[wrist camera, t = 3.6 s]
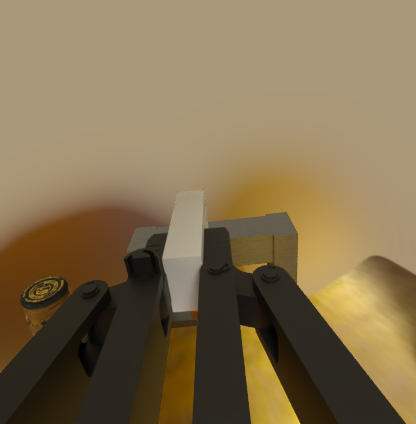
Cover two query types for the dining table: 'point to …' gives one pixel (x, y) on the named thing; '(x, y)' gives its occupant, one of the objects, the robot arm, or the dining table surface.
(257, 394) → the dining table surface
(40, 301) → the condiment
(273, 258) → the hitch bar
